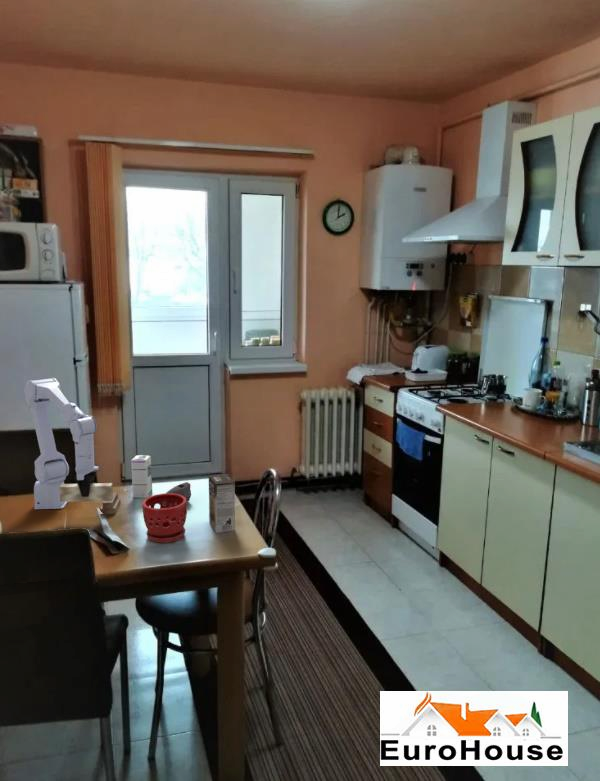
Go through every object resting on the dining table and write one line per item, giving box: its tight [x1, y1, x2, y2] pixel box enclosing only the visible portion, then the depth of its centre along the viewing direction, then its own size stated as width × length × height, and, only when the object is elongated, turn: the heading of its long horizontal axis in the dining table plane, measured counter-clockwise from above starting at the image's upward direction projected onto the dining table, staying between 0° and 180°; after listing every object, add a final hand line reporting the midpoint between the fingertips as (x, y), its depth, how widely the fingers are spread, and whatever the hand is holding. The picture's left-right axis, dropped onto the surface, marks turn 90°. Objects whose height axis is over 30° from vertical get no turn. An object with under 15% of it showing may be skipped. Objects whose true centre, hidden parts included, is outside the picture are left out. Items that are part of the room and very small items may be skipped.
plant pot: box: [141, 492, 188, 544], centre depth 186 cm, size 13×13×12 cm
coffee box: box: [208, 473, 236, 534], centre depth 195 cm, size 9×6×16 cm
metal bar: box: [59, 482, 114, 503], centre depth 199 cm, size 16×3×5 cm, turn 96°
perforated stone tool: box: [162, 481, 192, 506], centre depth 213 cm, size 15×5×7 cm, turn 149°
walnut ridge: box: [99, 492, 122, 515], centre depth 210 cm, size 5×10×4 cm, turn 7°
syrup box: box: [130, 454, 153, 499], centre depth 223 cm, size 6×6×14 cm
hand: (86, 494), depth 199 cm, fingers closed on metal bar, 3 cm apart
